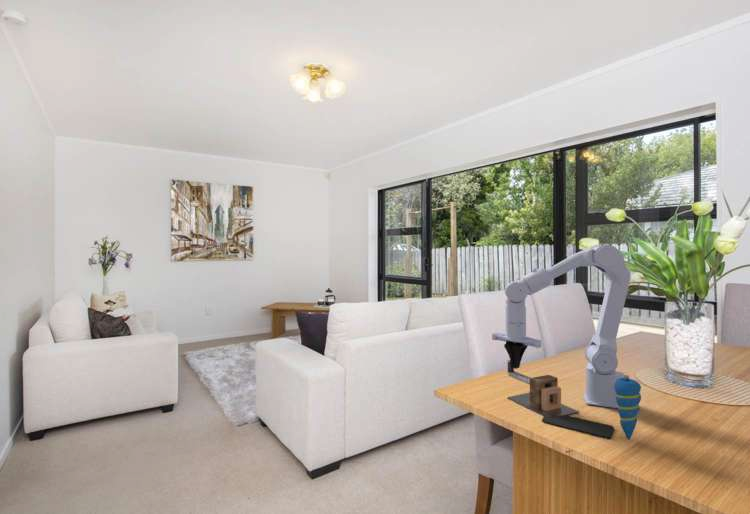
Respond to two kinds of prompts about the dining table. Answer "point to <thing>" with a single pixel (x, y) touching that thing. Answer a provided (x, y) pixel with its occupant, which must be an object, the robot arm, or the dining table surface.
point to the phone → (581, 425)
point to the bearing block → (539, 384)
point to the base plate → (525, 401)
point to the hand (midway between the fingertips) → (515, 367)
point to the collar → (556, 398)
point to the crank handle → (517, 374)
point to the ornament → (628, 403)
